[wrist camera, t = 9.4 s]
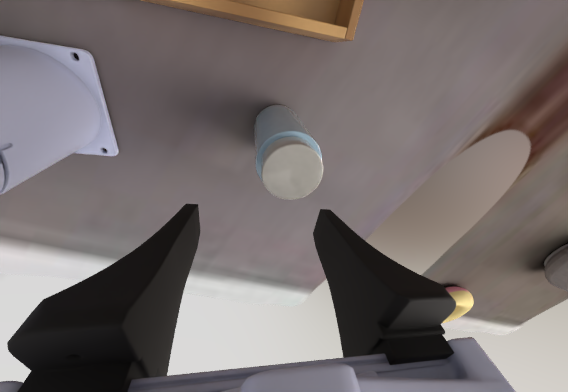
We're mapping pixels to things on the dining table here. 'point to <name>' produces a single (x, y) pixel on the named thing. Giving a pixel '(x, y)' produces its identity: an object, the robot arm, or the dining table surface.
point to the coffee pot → (558, 268)
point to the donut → (459, 302)
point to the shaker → (286, 154)
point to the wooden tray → (284, 15)
